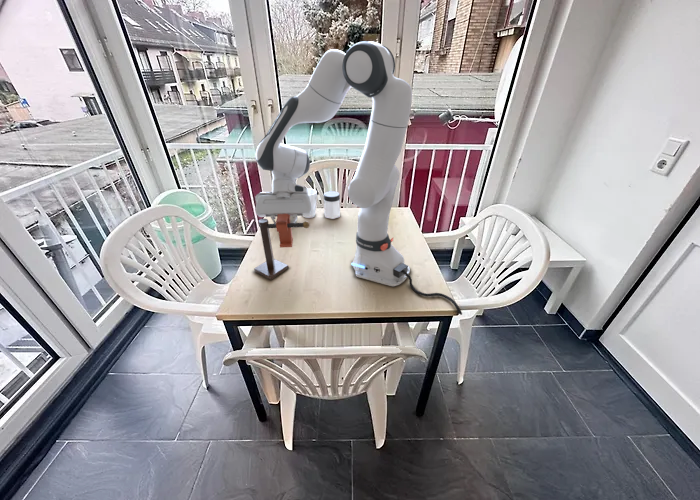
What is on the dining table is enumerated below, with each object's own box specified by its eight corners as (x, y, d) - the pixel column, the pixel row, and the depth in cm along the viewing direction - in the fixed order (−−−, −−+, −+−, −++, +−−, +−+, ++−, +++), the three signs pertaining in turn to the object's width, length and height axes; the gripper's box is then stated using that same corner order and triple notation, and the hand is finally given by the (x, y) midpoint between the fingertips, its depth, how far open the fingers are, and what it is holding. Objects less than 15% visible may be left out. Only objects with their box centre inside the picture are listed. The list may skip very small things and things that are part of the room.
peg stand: (251, 281, 104) (240, 230, 92) (257, 261, 114) (248, 213, 103) (312, 278, 106) (308, 227, 94) (313, 258, 116) (309, 211, 105)
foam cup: (317, 219, 147) (316, 195, 140) (299, 219, 146) (297, 195, 139) (318, 211, 155) (317, 188, 148) (301, 211, 154) (299, 188, 147)
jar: (334, 210, 156) (334, 189, 149) (343, 215, 150) (343, 194, 144) (320, 215, 151) (319, 193, 144) (329, 220, 146) (329, 198, 139)
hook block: (281, 240, 109) (277, 212, 103) (292, 240, 110) (289, 211, 103) (278, 252, 102) (274, 222, 96) (291, 251, 103) (287, 222, 96)
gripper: (253, 188, 102) (252, 225, 99) (310, 187, 104) (311, 223, 101) (257, 195, 108) (257, 230, 106) (311, 194, 110) (312, 228, 107)
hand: (284, 227), depth 103 cm, fingers closed on hook block, 4 cm apart
